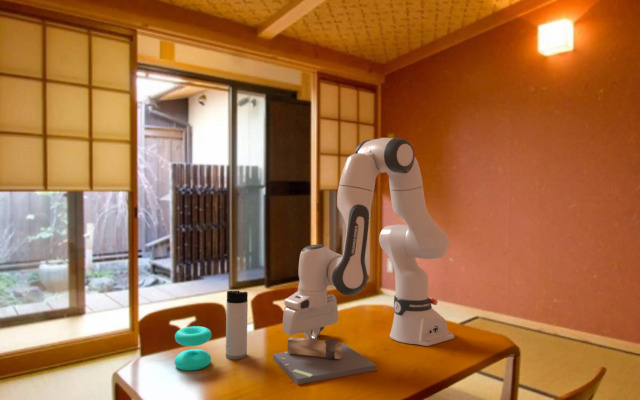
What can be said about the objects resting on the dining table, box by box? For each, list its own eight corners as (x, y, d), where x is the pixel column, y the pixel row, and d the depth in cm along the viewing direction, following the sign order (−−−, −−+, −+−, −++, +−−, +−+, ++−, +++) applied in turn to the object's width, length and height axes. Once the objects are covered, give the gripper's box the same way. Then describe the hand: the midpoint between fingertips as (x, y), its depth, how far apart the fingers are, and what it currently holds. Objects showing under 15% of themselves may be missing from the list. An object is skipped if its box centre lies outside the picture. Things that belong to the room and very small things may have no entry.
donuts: (194, 338, 119) (167, 332, 124) (193, 375, 120) (166, 367, 124) (218, 328, 128) (192, 323, 133) (218, 362, 129) (192, 356, 133)
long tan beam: (342, 355, 131) (342, 340, 130) (339, 359, 127) (340, 344, 127) (290, 349, 135) (290, 334, 134) (286, 353, 131) (287, 338, 131)
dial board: (344, 348, 142) (344, 343, 142) (376, 370, 125) (376, 364, 125) (273, 359, 132) (273, 353, 132) (297, 385, 115) (297, 378, 114)
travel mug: (221, 358, 132) (222, 291, 131) (232, 350, 138) (233, 286, 138) (239, 361, 130) (240, 293, 129) (250, 353, 136) (251, 288, 135)
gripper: (329, 291, 145) (328, 333, 145) (279, 300, 131) (278, 347, 131) (343, 295, 140) (342, 338, 141) (293, 305, 126) (292, 353, 126)
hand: (311, 343), depth 136 cm, fingers closed
